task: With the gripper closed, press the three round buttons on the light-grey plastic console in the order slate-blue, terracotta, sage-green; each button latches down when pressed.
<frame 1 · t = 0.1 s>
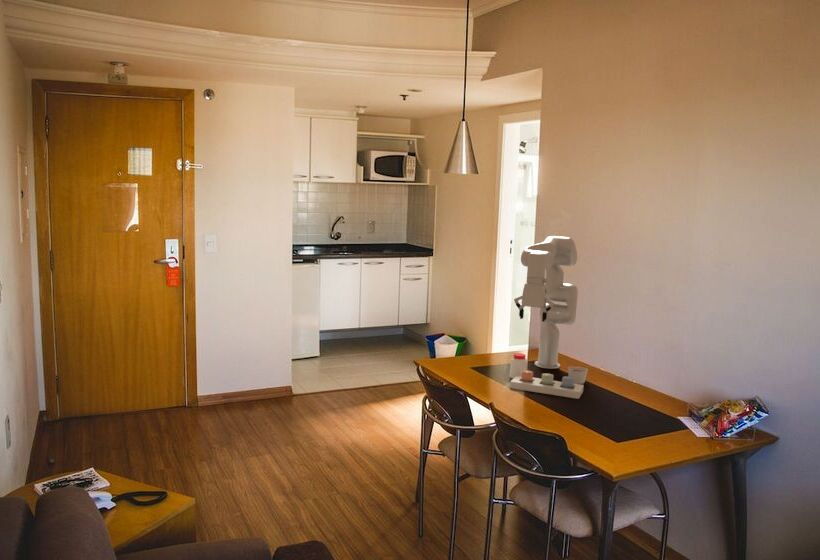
hand: (532, 319, 297), 31 cm above the table, fingers open, 9 cm apart
button sage: (547, 379, 300), point 5 cm above the table, slide at 0.0 cm
console: (546, 389, 301), on the table
button terracotta: (527, 376, 304), point 5 cm above the table, slide at 0.0 cm
candle: (576, 382, 316), on the table
button slate: (567, 382, 297), point 5 cm above the table, slide at 0.0 cm
pill bottle: (517, 377, 319), on the table
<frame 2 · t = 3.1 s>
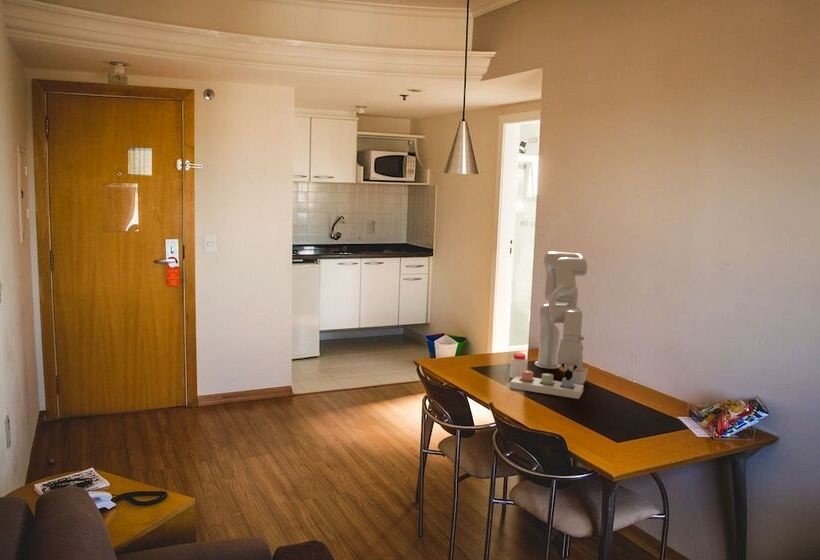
hand: (568, 379, 296), 6 cm above the table, fingers closed
button slate: (567, 383, 297), point 4 cm above the table, slide at 0.6 cm, touching gripper
everything else where it was.
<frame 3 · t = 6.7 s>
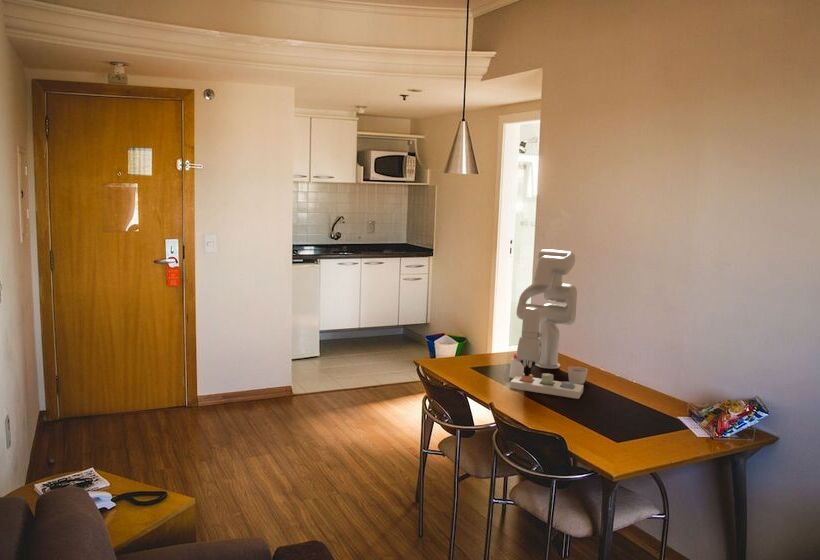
hand: (527, 375, 303), 5 cm above the table, fingers closed
button terracotta: (527, 379, 304), point 3 cm above the table, slide at 1.5 cm, touching gripper
button slate: (567, 387, 297), point 2 cm above the table, slide at 2.3 cm
everything else where it was.
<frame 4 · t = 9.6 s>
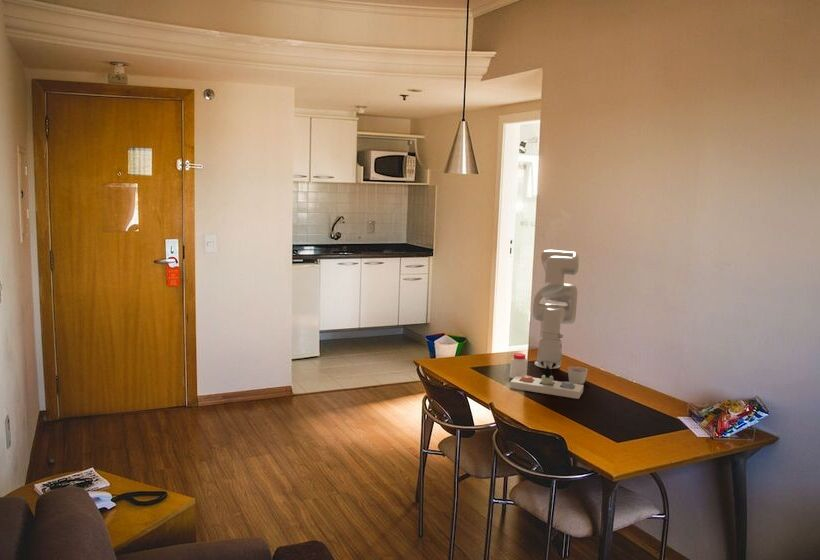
hand: (547, 376, 300), 6 cm above the table, fingers closed
button sage: (547, 381, 300), point 4 cm above the table, slide at 0.8 cm, touching gripper
button terracotta: (526, 381, 304), point 2 cm above the table, slide at 2.3 cm
everything else where it was.
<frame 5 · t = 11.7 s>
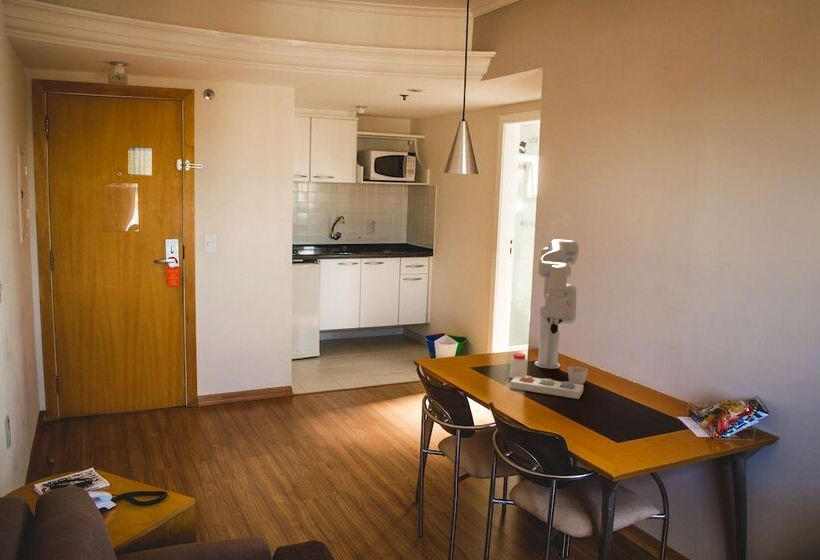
hand: (553, 332, 305), 24 cm above the table, fingers closed
button sage: (546, 384, 301), point 2 cm above the table, slide at 2.3 cm
everything else where it was.
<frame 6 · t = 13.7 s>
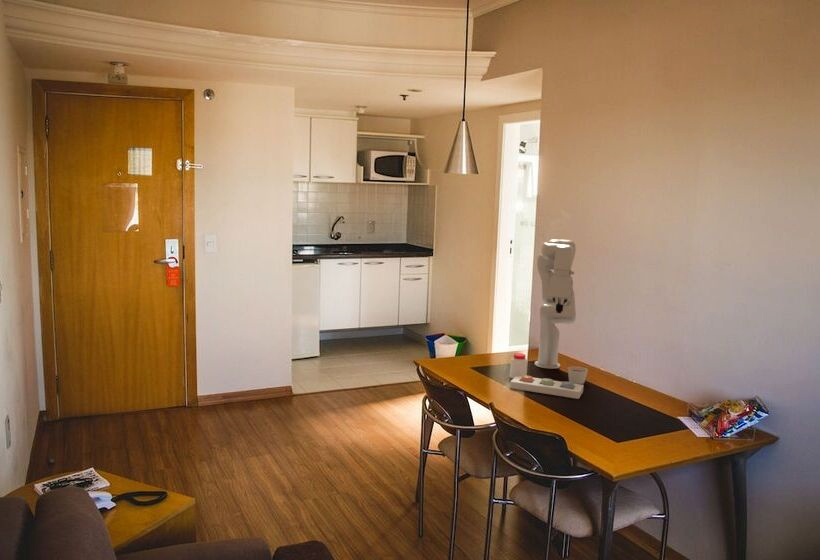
hand: (559, 312, 312), 32 cm above the table, fingers closed
nothing on the table moved.
at the end: button slate slide at 2.3 cm; button terracotta slide at 2.3 cm; button sage slide at 2.3 cm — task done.
